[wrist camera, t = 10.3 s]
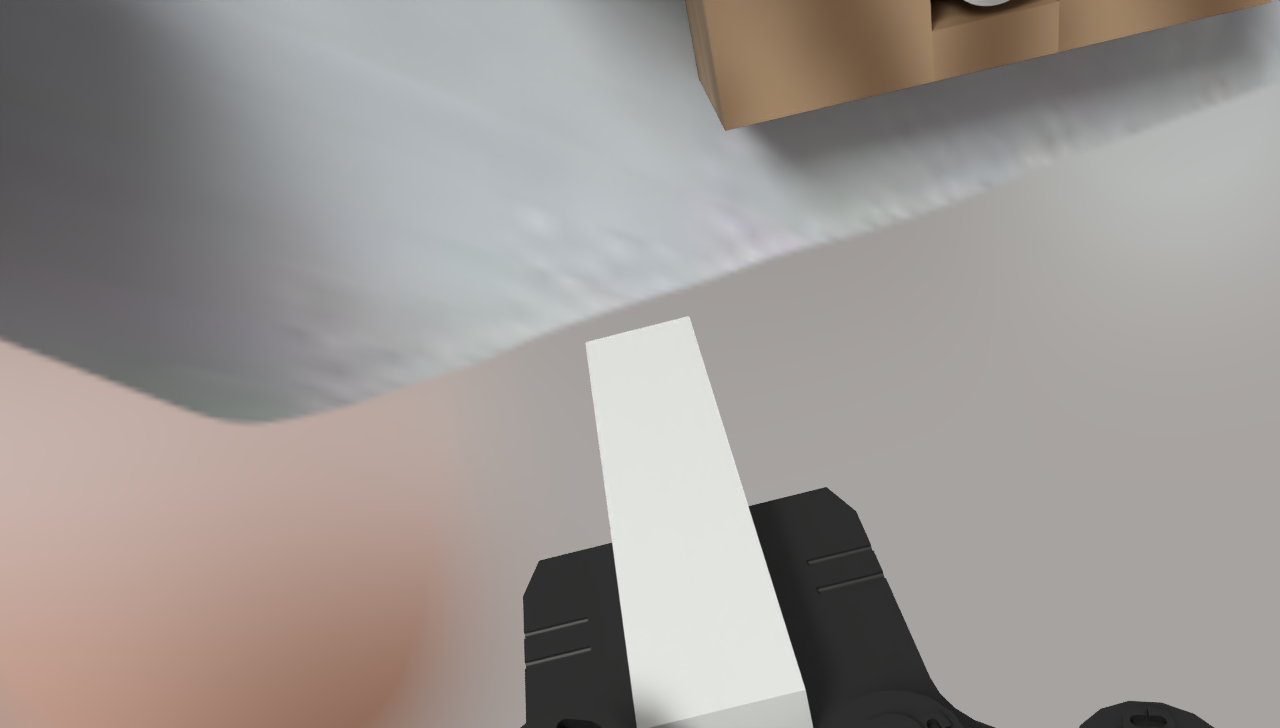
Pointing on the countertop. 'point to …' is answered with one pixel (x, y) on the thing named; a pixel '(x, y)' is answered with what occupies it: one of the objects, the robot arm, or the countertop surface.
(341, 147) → the countertop surface
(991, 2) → the white glossy ovoid
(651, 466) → the robot arm
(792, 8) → the walnut block
